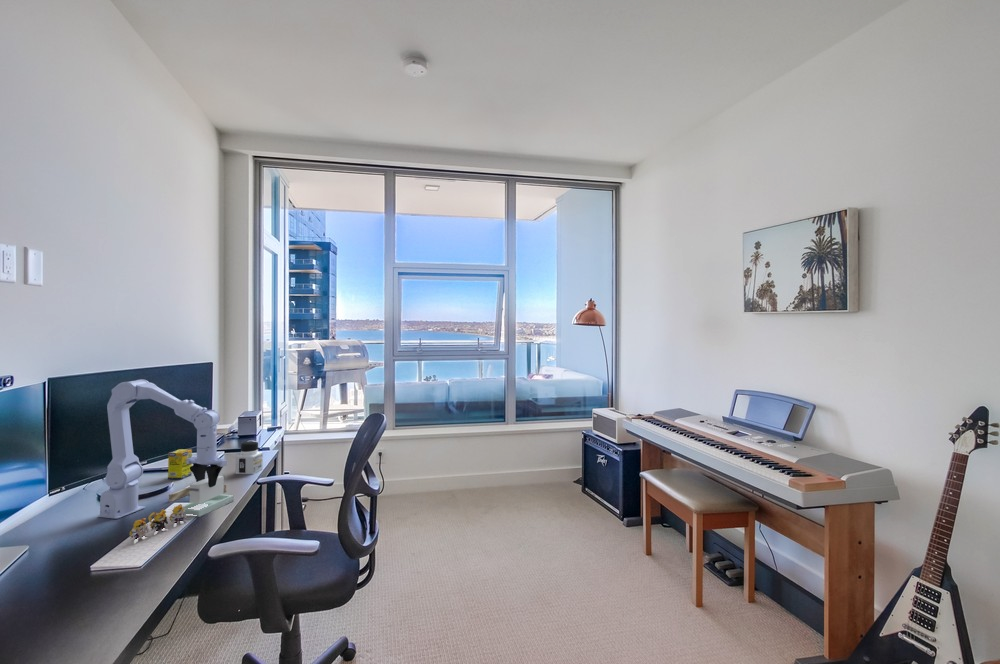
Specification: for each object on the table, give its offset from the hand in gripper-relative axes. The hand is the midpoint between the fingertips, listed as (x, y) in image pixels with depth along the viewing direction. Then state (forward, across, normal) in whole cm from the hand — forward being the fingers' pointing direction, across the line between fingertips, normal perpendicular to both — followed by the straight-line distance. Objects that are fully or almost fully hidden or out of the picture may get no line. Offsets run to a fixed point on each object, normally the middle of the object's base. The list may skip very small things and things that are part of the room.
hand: (206, 485), depth 156 cm
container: (+8, +16, -38) cm, 42 cm away
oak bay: (+8, +12, -8) cm, 16 cm away
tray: (+8, 0, 0) cm, 8 cm away
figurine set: (+8, -2, +19) cm, 21 cm away
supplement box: (+8, +38, -25) cm, 46 cm away
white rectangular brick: (+4, 0, 0) cm, 4 cm away
